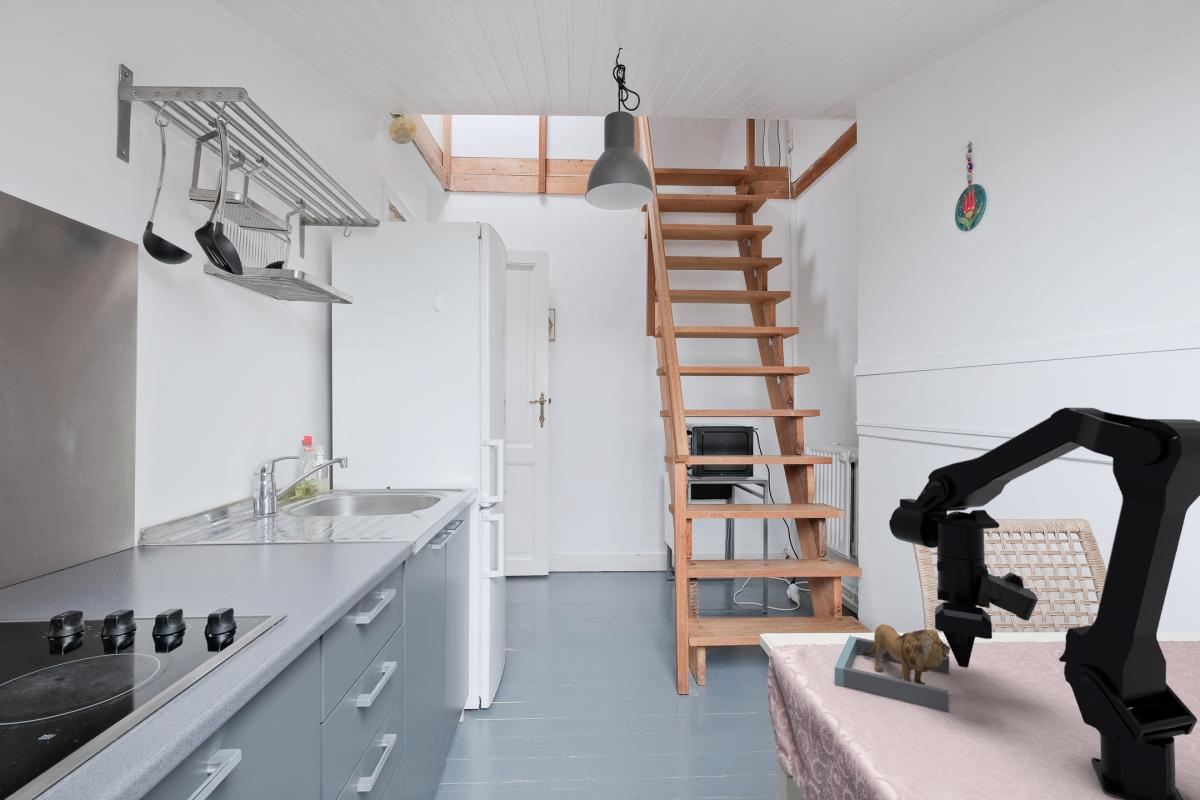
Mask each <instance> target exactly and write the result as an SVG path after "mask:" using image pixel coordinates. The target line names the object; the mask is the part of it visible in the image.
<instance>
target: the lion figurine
mask: <svg viewBox="0 0 1200 800" xmlns="http://www.w3.org/2000/svg"><path fill="white" fill-rule="evenodd" d="M873 641H874V644H873V647H872V648H871V649H870V650H869V651H865V652H863V654H864V655H865V656H864V657H866V656H868V655H871V654H872V653H873V651H874V650H875V648H876V655H875V658H874V670H875V671H876V672H883V671H884V668H883V667H882V666H881V662H882V663H886V664H887V663H889V661H888V659H887V658H886V657H885V654H886V653H887V652H889V654H890V655H891V656H892V657H893V658H894V659H896V660H897V661H899V662H901V664H900V665H901V673H902V680H906V681H910V682H912V681H911V674H912V670H913V671H914V674H913V675H914V676H913V682H914V683H919V684H923V685H926V683H925V682H923V681H922V675H923V673H926V672H929V671H931V670H930V668H931V667H937V666H938V665H940V663H942V660H943V659H946V655H949V654H950V651H951V648H950V646H948V645H947V644H946V643H944V641H943V640H942V638H940V635H939V633H938V632H937V631H935V630H934V629H927V628H923V629H920V630H914V631H911V632H905V633H903V634H902V635H901V634H899V633H898V632H897V631H896V630H895V628H894V627H892V626H891V625H888V624H884V623H883V624H880V625H878V626H877V627H876V629H875V632H874V638H873Z"/></svg>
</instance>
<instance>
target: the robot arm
mask: <svg viewBox="0 0 1200 800" xmlns="http://www.w3.org/2000/svg"><path fill="white" fill-rule="evenodd" d="M1081 447H1082V448H1084V449H1086V450H1089V451H1091V452H1093V453H1094V454H1099V455H1103V456H1106V457H1109V458H1112V473H1113V476H1114V478H1115V481H1116V483H1117V486H1118V489H1119V491H1120V494H1121V497H1122V501H1121V507H1120V511H1119V516H1118V520H1117V524H1116V525H1117V526H1116V528H1115V529H1116V530H1115V532H1114V534H1115V535H1114V537H1113V543H1112V547H1111V552H1110V556H1109V559H1108V565H1107V569H1106V573H1105V579H1104V582H1103V586H1102V590H1101V591H1102V592H1101V595H1100V599H1099V604H1098V605H1099V606H1098V609H1097V612H1096V613H1097V614H1096V617H1095V619H1094V622H1093V623H1092V624H1091V625H1084V626H1077V627H1076V626H1075V627H1069V628H1068V629H1067V631H1066V635H1065V649H1064V651H1063V654H1061V656H1060V657H1059V658H1058V660H1059V662H1061V663H1064V667H1063V674H1064V679H1065V681H1066V682H1067V684H1069V686H1070V687H1071V690H1072V693H1073V696H1074V698H1075V701H1076V704H1077V707H1078V710H1079V713H1080V715H1081V718H1082V720H1083V723H1084V724H1085V725H1087V726H1090V727H1091V728H1093V729H1095V730H1097V731H1098V733H1099V735H1100V739H1099V740H1100V758H1097V757H1091V759H1090V760H1091V764H1092V768H1093V770H1094V772H1095V774H1096V778H1097V779H1098V782H1099V785H1100V786H1101V789H1102V791H1103V793H1106V794H1108V795H1112V796H1115V797H1118V798H1122V799H1125V800H1185V799H1184V797H1183V796H1182V794H1181V793H1180V791H1179V789H1178V787H1177V785H1176V753H1175V752H1176V750H1175V749H1176V748H1175V746H1176V745H1175V744H1176V743H1175V737H1177V736H1181V735H1185V736H1188V735H1191V733H1192V732H1193V730H1194V727H1195V726H1196V724H1197V723H1198V718H1197V717H1196V715H1194V713H1193V712H1192V711H1191V709H1189V708H1188V706H1187V705H1186V704H1185V703H1184V701H1182V699H1181V698H1180V697H1179V696H1178V695H1177V694H1176V693H1175V691H1174V690H1173V689H1172V688H1171V687H1170V686H1169V685H1168V684H1167V660H1166V658H1165V655H1164V653H1163V650H1162V648H1161V646H1160V644H1159V641H1158V637H1157V634H1158V633H1157V632H1158V630H1159V625H1160V621H1161V617H1162V612H1163V608H1164V604H1165V600H1166V598H1167V597H1166V596H1167V593H1168V592H1167V591H1168V588H1169V584H1170V579H1171V576H1172V572H1173V567H1174V565H1175V561H1176V556H1177V552H1178V549H1179V543H1180V539H1181V535H1182V531H1183V528H1184V527H1183V526H1184V523H1185V520H1186V519H1185V518H1186V515H1187V512H1188V510H1189V509H1190V507H1191V505H1193V504H1194V502H1195V501H1197V499H1198V498H1199V497H1200V420H1195V419H1187V418H1185V419H1181V418H1180V419H1179V418H1177V419H1175V418H1169V419H1168V418H1142V417H1137V416H1130V415H1125V414H1118V413H1112V412H1107V411H1104V410H1100V409H1098V408H1095V407H1063V408H1060V409H1058V410H1056V411H1054V412H1053V413H1052V414H1051V415H1050V416H1049V417H1047V418H1046V419H1044V420H1042V421H1041V422H1038V423H1037V424H1035V425H1034V426H1032V427H1030V428H1028V429H1026V430H1025V431H1023V432H1020V433H1019V434H1018V435H1016V436H1014V437H1012V438H1010V439H1009V440H1007V441H1005V442H1002V444H1000V445H998V446H996V447H995V448H992V449H991V450H989V451H987V452H985V453H984V454H982V455H980V456H978V457H975V458H972V459H967V460H962V461H959V462H954V463H950V464H947V465H944V466H941V467H938V468H936V469H933V470H932V471H931V472H930V473H929V475H928V476H927V478H928V482H926V484H925V486H924V487H923V490H922V491H920V494H919V495H918V497H917V498H916V499H915V498H900V499H899V506H898V507H897V508H895V509H894V511H893V512H892V514H891V516H890V519H889V529H890V533H891V534H892V535H893V537H894V538H895V539H897V540H899V541H903V542H907V543H909V544H914V545H916V546H917V545H918V546H921V547H926V548H929V549H935V548H936V550H937V551H936V557H937V561H936V571H937V588H936V589H937V591H936V592H937V594H936V595H937V600H939V601H943V602H941V603H940V604H938V606H936V607H935V609H934V610H935V611H934V623H935V624H934V630H937V631H938V632H942V634H943V635H944V637H945V639H946V641H947V644H948V645H949V647H950V651H951V652H952V654H953V657H954V658H955V661H956V663H957V666H959V667H960V668H964V669H967V668H969V664H970V660H971V656H972V653H973V647H974V645H975V644H974V643H975V640H976V638H980V639H984V640H990V639H992V638H993V627H992V626H993V624H992V618H991V615H990V614H989V613H988V612H986V610H984V608H987V609H990V605H993V606H995V607H998V608H1000V609H1002V610H1004V611H1006V612H1009V613H1011V614H1013V615H1015V616H1016V618H1019V619H1021V620H1024V621H1029V620H1030V618H1031V617H1032V614H1033V612H1034V610H1035V608H1036V606H1037V603H1038V601H1039V599H1038V597H1037V595H1036V593H1035V592H1033V591H1032V590H1031V589H1030V588H1028V587H1027V588H1026V587H1025V586H1024V581H1023V578H1022V576H1020V575H1017V574H1015V573H1012V572H1008V573H1006V574H1004V575H1003V576H1002V577H1001V576H999V575H996V576H995V575H993V574H991V573H989V569H988V565H987V564H986V557H985V530H986V529H987V530H989V529H998V528H999V527H1000V523H999V522H997V521H996V519H995V518H993V517H992V516H991V515H990V514H989V513H988V512H987V511H986V509H974V510H972V511H971V512H964V511H967V510H968V509H969V508H980V507H985V506H986V505H987V504H988V503H990V502H991V501H993V500H994V499H995V498H997V497H998V496H1000V494H1002V492H1003V491H1004V489H1005V487H1006V485H1008V484H1009V483H1010V482H1011V481H1013V480H1016V479H1017V478H1019V477H1021V476H1024V475H1025V474H1027V473H1029V472H1031V471H1034V470H1037V469H1038V468H1040V467H1041V466H1044V465H1046V464H1048V463H1050V462H1052V461H1055V460H1056V459H1058V458H1060V457H1062V456H1064V455H1066V454H1069V453H1070V452H1072V451H1074V450H1077V449H1079V448H1081ZM948 512H949V513H948Z"/></svg>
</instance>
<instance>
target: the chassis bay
mask: <svg viewBox="0 0 1200 800" xmlns="http://www.w3.org/2000/svg"><path fill="white" fill-rule="evenodd" d="M874 641H875V640H874V639H873V640H872V639H867V638H863V637H857V636H852V635H849V636H848V637H847V640H846V642H845V644H844V646H843V648H842V651H841V654H840V656H839V657H838V659H837V661H836V663H835V666H834V685H836V686H840V687H843V688H849V689H852V690H855V691H860V692H863V693H864V692H865V693H868V694H872V695H876V696H881V697H885V698H888V699H893V700H897V701H901V702H905V703H908V704H913V705H916V706H917V705H918V706H921V707H926V708H929V709H933V710H937V711H941V712H946V713H949V711H950V708H949V707H950V705H949V704H950V703H949V699H950V698H949V696H950V694H949V693H950V692H949V691H950V690H948V689H946V688H945V689H944V688H940V687H936V686H931V685H923V684H919V683H914V681H911V682H910V681H906V680H903V679H900V678H896V677H891V676H887V675H883V674H879V673H874V672H870V671H866V670H862V669H856V668H853V664H854V662H855V659H856V658H857V657H856V656H862V657H865V658H870V659H875V655H876V648H875V650H874V651H873V653H872V654H871V655H868V656H865V655H864V654H863V652H865V651H869V650H870V649H871V648H872V647H873V644H874ZM885 657H886V658H887V659H888V663H894V664H898V665H899V664H900V665H901V662H899V661H897V660H896V659H894V658H893V657H892V656H891V655H890V654H889V652H887V653H886V654H885ZM929 671H933V672H937V673H940V672H941V674H945V675H950V655H949V654H948V655H946V659H943V660H942V663H940V665H938V666H937V667H931V668H930V670H929Z"/></svg>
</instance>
